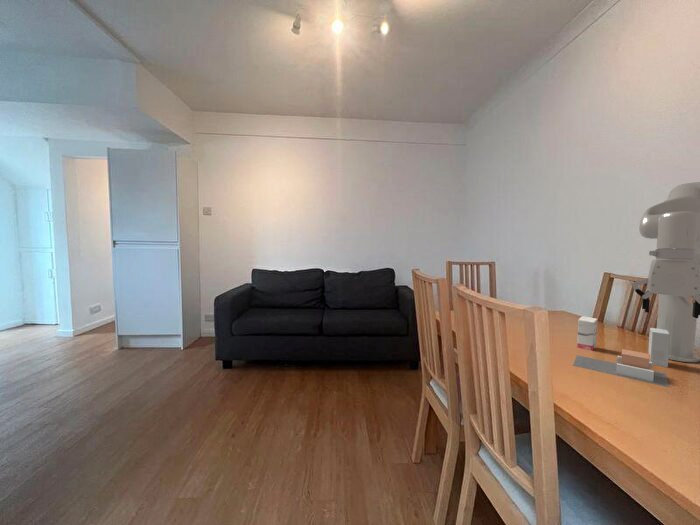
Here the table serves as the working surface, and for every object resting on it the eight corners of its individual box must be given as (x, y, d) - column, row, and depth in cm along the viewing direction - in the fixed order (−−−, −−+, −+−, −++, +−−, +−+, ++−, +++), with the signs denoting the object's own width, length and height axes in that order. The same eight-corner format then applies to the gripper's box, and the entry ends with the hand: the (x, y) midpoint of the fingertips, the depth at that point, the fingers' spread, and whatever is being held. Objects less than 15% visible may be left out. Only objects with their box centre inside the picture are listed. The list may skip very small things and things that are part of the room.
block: (620, 367, 97) (621, 349, 96) (646, 372, 93) (648, 353, 92) (620, 372, 93) (621, 353, 92) (647, 378, 89) (649, 358, 88)
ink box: (592, 353, 111) (594, 322, 111) (576, 349, 115) (577, 319, 114) (596, 347, 117) (598, 318, 116) (580, 344, 121) (582, 315, 120)
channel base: (576, 357, 107) (577, 346, 107) (665, 376, 92) (666, 363, 92) (572, 368, 98) (573, 356, 98) (669, 390, 83) (670, 376, 83)
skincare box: (647, 361, 104) (649, 327, 103) (664, 364, 101) (667, 329, 100) (649, 366, 99) (652, 331, 99) (668, 370, 97) (670, 334, 96)
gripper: (633, 254, 89) (629, 311, 90) (726, 256, 77) (720, 322, 78) (632, 254, 94) (628, 308, 95) (718, 256, 83) (713, 317, 84)
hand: (670, 314), depth 87 cm, fingers open, 9 cm apart
